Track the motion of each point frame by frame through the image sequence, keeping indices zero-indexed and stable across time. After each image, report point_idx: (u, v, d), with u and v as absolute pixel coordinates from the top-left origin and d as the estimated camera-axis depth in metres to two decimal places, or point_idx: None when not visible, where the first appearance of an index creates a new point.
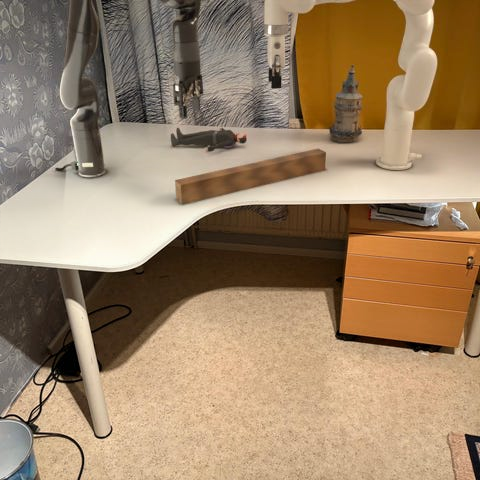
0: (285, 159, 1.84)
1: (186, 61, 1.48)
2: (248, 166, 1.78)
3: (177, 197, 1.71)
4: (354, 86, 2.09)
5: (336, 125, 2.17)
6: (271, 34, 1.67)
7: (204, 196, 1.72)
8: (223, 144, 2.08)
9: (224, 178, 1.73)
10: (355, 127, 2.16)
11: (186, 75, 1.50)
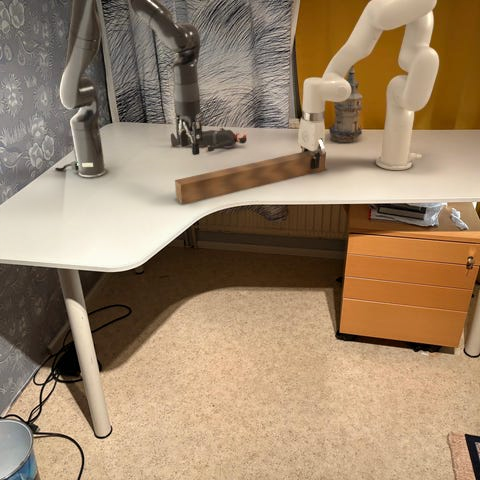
0: (285, 159, 1.84)
1: (196, 100, 1.55)
2: (248, 166, 1.78)
3: (177, 197, 1.71)
4: (354, 86, 2.09)
5: (336, 125, 2.17)
6: None
7: (204, 196, 1.72)
8: (223, 144, 2.08)
9: (224, 178, 1.73)
10: (355, 127, 2.16)
11: (196, 113, 1.57)
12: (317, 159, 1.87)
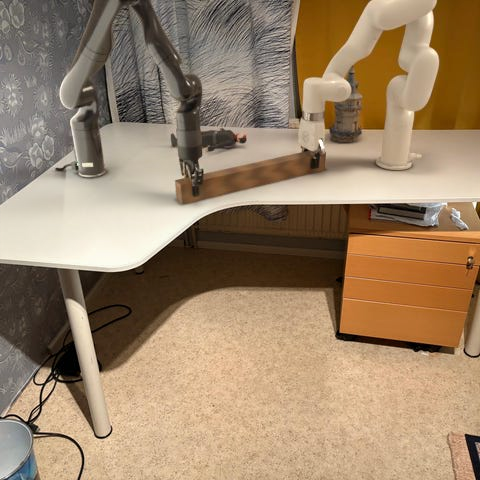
0: (285, 159, 1.84)
1: (199, 145, 1.62)
2: (248, 166, 1.78)
3: (177, 197, 1.71)
4: (354, 86, 2.09)
5: (336, 125, 2.17)
6: None
7: (204, 196, 1.72)
8: (223, 144, 2.08)
9: (224, 178, 1.73)
10: (355, 127, 2.16)
11: (199, 157, 1.63)
12: (317, 159, 1.87)
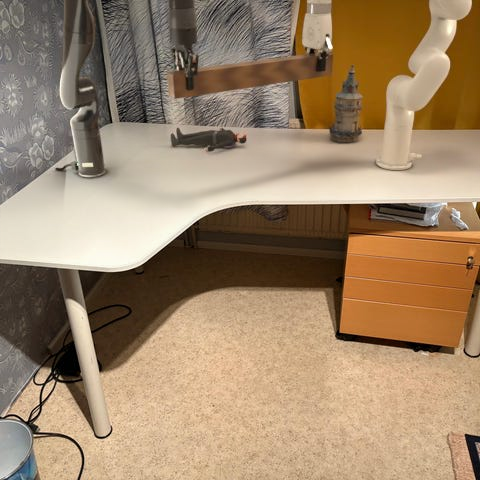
0: (288, 58, 1.67)
1: (193, 27, 1.45)
2: (248, 63, 1.62)
3: (169, 92, 1.55)
4: (354, 86, 2.09)
5: (336, 125, 2.17)
6: None
7: (199, 92, 1.55)
8: (223, 144, 2.08)
9: (222, 72, 1.56)
10: (355, 127, 2.16)
11: (193, 42, 1.47)
12: (323, 60, 1.70)
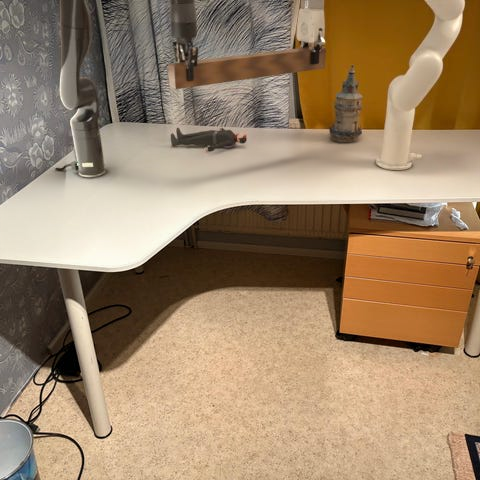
0: (283, 51, 1.76)
1: (193, 21, 1.54)
2: (245, 56, 1.71)
3: (170, 83, 1.64)
4: (354, 86, 2.09)
5: (336, 125, 2.17)
6: None
7: (199, 83, 1.64)
8: (223, 144, 2.08)
9: (220, 64, 1.65)
10: (355, 127, 2.16)
11: (193, 35, 1.56)
12: (317, 53, 1.79)
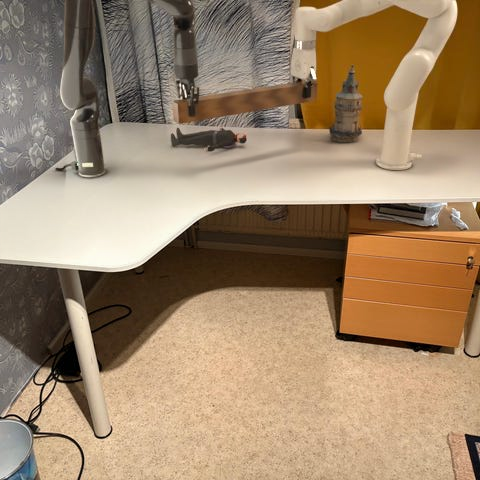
0: (278, 87, 1.92)
1: (195, 64, 1.70)
2: (242, 91, 1.86)
3: (174, 118, 1.79)
4: (354, 86, 2.09)
5: (336, 125, 2.17)
6: None
7: (200, 117, 1.80)
8: (223, 144, 2.08)
9: (219, 100, 1.81)
10: (355, 127, 2.16)
11: (195, 76, 1.71)
12: (309, 88, 1.95)
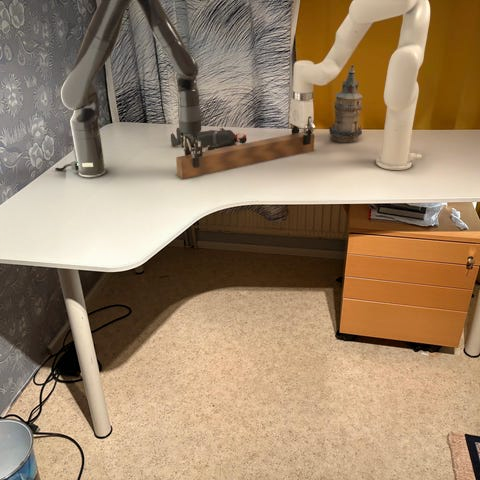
0: (277, 139, 2.01)
1: (198, 120, 1.79)
2: (243, 145, 1.96)
3: (178, 173, 1.89)
4: (354, 86, 2.09)
5: (336, 125, 2.17)
6: None
7: (203, 172, 1.90)
8: (223, 144, 2.08)
9: (221, 155, 1.90)
10: (355, 127, 2.16)
11: (198, 131, 1.80)
12: (308, 136, 2.03)
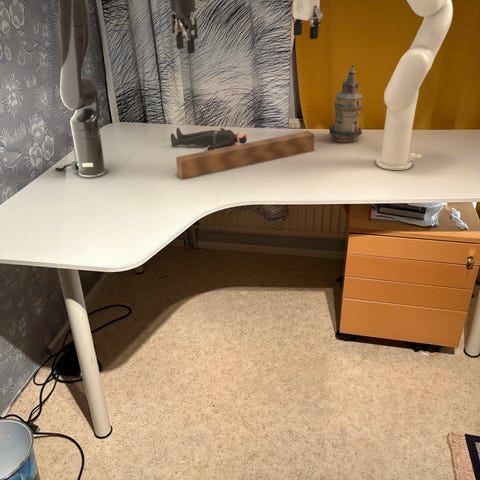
0: (277, 139, 2.01)
1: None
2: (243, 145, 1.96)
3: (178, 173, 1.89)
4: (354, 86, 2.09)
5: (336, 125, 2.17)
6: None
7: (203, 172, 1.90)
8: (223, 144, 2.08)
9: (221, 155, 1.90)
10: (355, 127, 2.16)
11: (192, 10, 1.62)
12: (316, 28, 1.83)
